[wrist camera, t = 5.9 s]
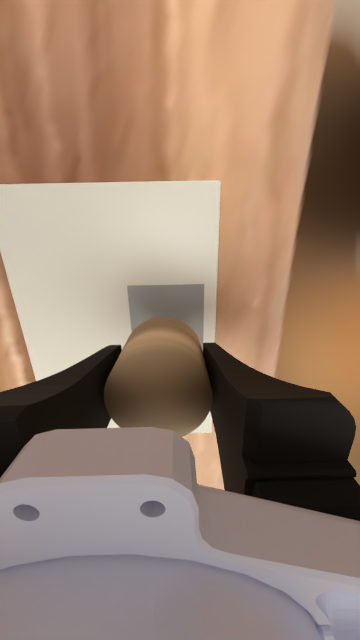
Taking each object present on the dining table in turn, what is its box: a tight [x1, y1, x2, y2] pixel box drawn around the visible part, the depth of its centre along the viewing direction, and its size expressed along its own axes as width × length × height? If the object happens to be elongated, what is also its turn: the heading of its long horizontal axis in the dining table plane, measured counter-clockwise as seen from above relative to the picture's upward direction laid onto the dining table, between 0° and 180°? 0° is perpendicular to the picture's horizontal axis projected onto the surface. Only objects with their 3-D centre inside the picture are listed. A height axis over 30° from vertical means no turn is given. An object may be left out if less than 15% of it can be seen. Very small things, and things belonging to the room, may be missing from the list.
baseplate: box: [0, 180, 221, 433], centre depth 19 cm, size 22×16×1 cm
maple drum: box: [104, 317, 212, 437], centre depth 11 cm, size 4×4×4 cm
